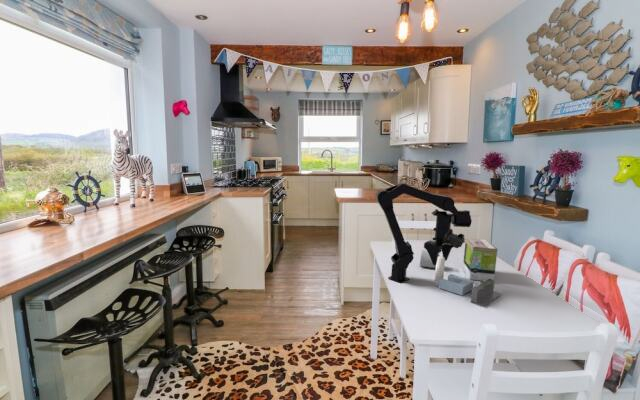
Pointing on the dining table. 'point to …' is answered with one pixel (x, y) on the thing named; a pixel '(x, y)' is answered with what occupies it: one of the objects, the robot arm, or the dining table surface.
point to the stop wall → (484, 293)
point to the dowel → (439, 268)
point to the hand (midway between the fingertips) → (440, 262)
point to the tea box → (479, 259)
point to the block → (456, 284)
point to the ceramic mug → (426, 260)
